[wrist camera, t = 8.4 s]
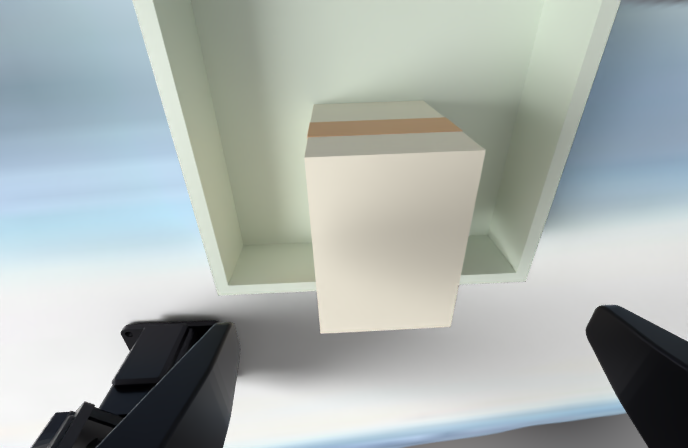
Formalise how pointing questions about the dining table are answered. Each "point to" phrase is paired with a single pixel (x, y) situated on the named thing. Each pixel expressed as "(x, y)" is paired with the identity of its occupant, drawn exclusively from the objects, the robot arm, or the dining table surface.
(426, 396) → the dining table surface
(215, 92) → the tote
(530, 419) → the dining table surface
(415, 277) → the taped carton
